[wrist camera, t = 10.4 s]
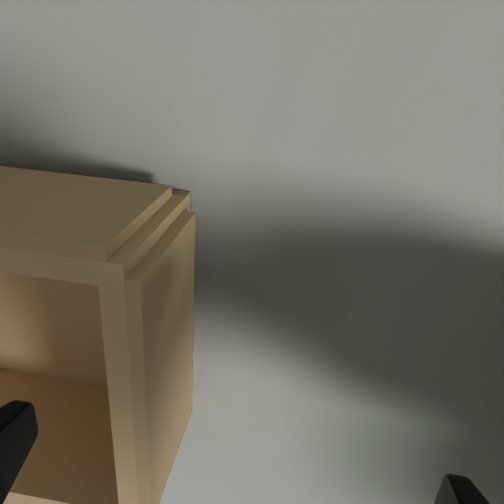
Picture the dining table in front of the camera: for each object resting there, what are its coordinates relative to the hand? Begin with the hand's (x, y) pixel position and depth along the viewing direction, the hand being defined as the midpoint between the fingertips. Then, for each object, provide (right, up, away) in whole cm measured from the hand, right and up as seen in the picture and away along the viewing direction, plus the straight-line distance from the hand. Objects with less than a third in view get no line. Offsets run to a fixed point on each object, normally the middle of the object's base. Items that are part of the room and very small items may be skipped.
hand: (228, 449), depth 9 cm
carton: (-8, +2, +12) cm, 15 cm away
